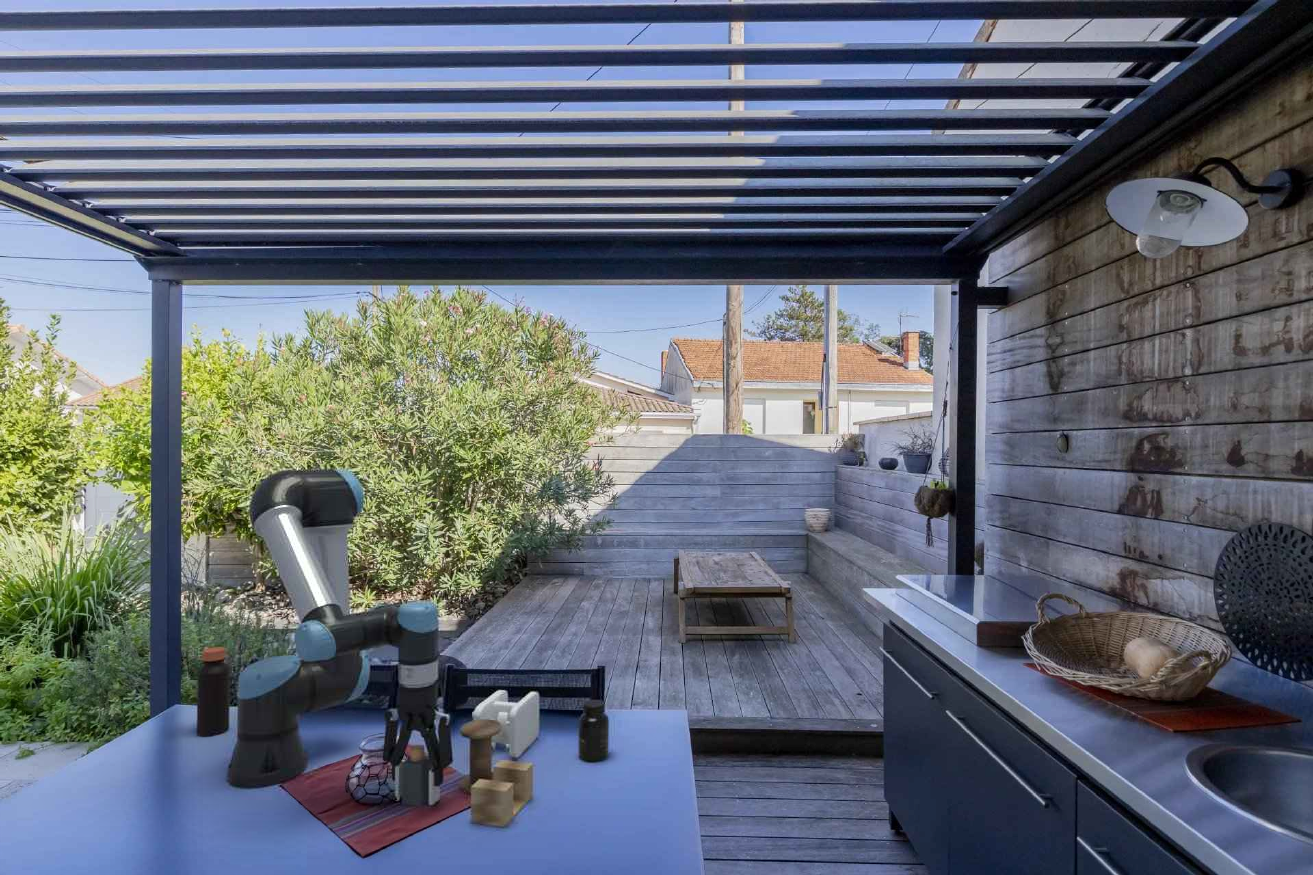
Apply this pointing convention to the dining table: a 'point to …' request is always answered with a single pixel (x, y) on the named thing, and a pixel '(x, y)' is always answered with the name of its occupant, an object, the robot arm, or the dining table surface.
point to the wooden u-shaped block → (502, 793)
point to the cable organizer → (512, 720)
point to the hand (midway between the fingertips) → (417, 799)
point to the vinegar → (213, 693)
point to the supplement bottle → (593, 732)
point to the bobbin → (479, 750)
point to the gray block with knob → (416, 777)
